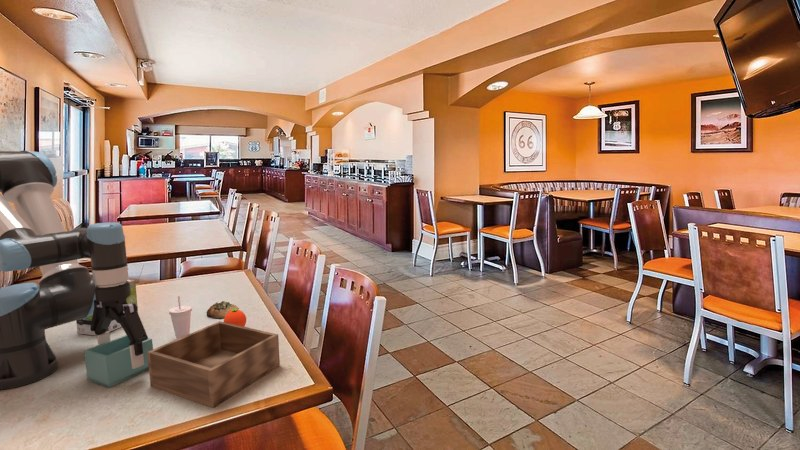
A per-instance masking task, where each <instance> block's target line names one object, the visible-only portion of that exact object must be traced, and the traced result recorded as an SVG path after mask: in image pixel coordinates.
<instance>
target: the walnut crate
mask: <svg viewBox="0 0 800 450" xmlns="http://www.w3.org/2000/svg"><path fill="white" fill-rule="evenodd" d="M279 343H280V342H279V334H277V333H273V332H268V331H264V330H260V329H255V328H252V327H251V328H250V327H247V326H246V327H245V326H244V327H243V326H238V325H234V324H229V323H225V322H224V321H217V322H214V323H212V324H211V325H208V326H206V327H202V328H201V329H198V330H196V331H194V332H190V334H189V335H186V336H184V337H181V338H179V339H177V340H176V339H175V340H173V341H170V342H168V343H166V344H163V345H160V346H158V347H156V348H153V350H151V351H149V352H147V356H148V365H149V370H148V372H149V373H148V374H149V383H150V384H149V385H150V387H152V388H155V389H159V390H161V391H164V392H167V393H169V394H173V395H176V396H179V397H180V398H184V399H187V400H189V401H193V402H196V403H198V404H201V405H204V406H206V407H207V406H208V407H210V408H213V409H214V408H216V407H218V406H219V405H220V404H223V403H224V402H225V401H227V400H229V399H230V398H232V397H233V396H235V395H236V394H238V393H240V392H241V391H242V390H244V389H246V388H247V387H249V386H250V385H252V384H254V383H255V382H258V380H260V379H262V378H263V377H265V376H266V375H268V374H270V373H271V372H272V371H274V370H275V369H277V368H279V367H280V366H281V362H280V345H279Z"/></svg>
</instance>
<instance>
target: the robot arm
mask: <svg viewBox="0 0 800 450" xmlns="http://www.w3.org/2000/svg"><path fill="white" fill-rule="evenodd" d="M57 184H58V176H57V170H56V167H55V164H54V163H53V162H52V161H51V159H50V157H48V155H46V154H45V153H42V152H40V151H29V150H19V151H15V150H7V151H6V150H0V272H4V273H5V272H6V273H7V272H13V271H24V270H27V269H28V270H29V269H33V268H38V267H39V269H40V270H39V271H40V272H41V274H42V276H41V278H40V280H39V281H38V284H37V283H36V282H22V283H19V284H18V283H16V284H12V285H7V286H4V287H1V288H0V390H7V389H14V388H18V387H22V386H25V385H28V384H31V383H32V384H33V383H35V382H38V381H40V380H43V379H44V378H46V377H48V376H50V375H52V374H53V373H54V372H55V371H57V369H58V368H59V363H58V358H57V355H56V354H55V353H54V351H53V350H52V348H51V346H50V344H48V341H47V339H46V330H48V329H51V328H55V327H58V326H61V325H65V324H68V323H72V322H76V320H79V319H85V318H87V317H89V316H92V315H93V317H92V322H91V327H90V330H91V331H95V334H96V335H95V336H96V338H97V344H98V345H100V344H103V343H106V342H108V341H111V336H110V332H106V331H109V329H108V327H109V325H110V323H111V321H112V319H114V320H116V322H117V323H120V324H121V326H122V327H121V328H122V329H123V332H124V333H125V335H127V336H128V338H129V340H130V341H131V343H130V344H129V347H130V355H131V363H132V369H135V368H138V367H140V366H142V365H144V357H143V346H142V342H143V341H145V340H147V339H148V338H149V337H148V336H149V335H148V334H147V332H146V329H145V327H144V324H143V321H142V319H141V317H140V314H139V311H138V312H137V308H136V304H135V303H132V304H128V303H127V301H126V299H127V297H129V296H130V295H131V290H130V283H129V282H128V281H127V280H130V277H129V267H128V256H127V249H126V248H127V247H126V240H125V239H126V236H125V232H124V229H123V225H122V224H121V223H120V222H117V221H115V222H112V221H111V222H109V221H107V222H106V221H105V222H96V223H92V224H89V225H88V226H87V228H86V227H78V228H70V229H69V230H67V231H65V230H66V229H65V228H64V226H63V225H64V224H63V223H62V220H61V219H60V216H59V214H58V211H57V210H56V207H55V204H54V202H53V200H52V197H51V195H52V194H53V193H54V191H55V189H54V188H55V187H56V186H57ZM10 203H11V204H13V206H14V207H13V206H12V205H11V204H10ZM80 259H81V260H82V259H90V263H91V274H90V271H89V268H88V267H87V266H84V265H81V264H80V263H79V261H78V260H80ZM97 324H98V325H97ZM105 332H106V333H105ZM134 338H135V339H134ZM98 345H97V346H98Z"/></svg>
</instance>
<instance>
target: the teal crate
mask: <svg viewBox="0 0 800 450" xmlns="http://www.w3.org/2000/svg"><path fill="white" fill-rule="evenodd" d="M134 339H135V338H134ZM130 343H131V341H130V340H129V338H128V336H127V334H125V335H123V336H120V337H117V338H115V339H112V340H111V339H110V341H108V342H106V343H103V344H100V345H96V346H93V347H90V348H87V349H84V350H83V353H84V354H83V355H84V361H85V363H84V364H85V369H86V377H87V380H88V381H89V382H92V383H95V384H98V385H100V386H103V387H106V388H108V389H110V388H112V387H114V386H116V385H118V384H121V383H123V382H125V381H127V380H129V379H131V378H134V377H136V376H138V375H140V374H142V373H144V372H147V371H149V365H148V356H147V352H149V351H151V350H153V349H154V345H153V338H151V337H148V339H147V340H145V341H143V342H142V346H143V357H144V365H142V366H140V367H138V368H135V369H132V363H131V355H130V347H129V344H130Z"/></svg>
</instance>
